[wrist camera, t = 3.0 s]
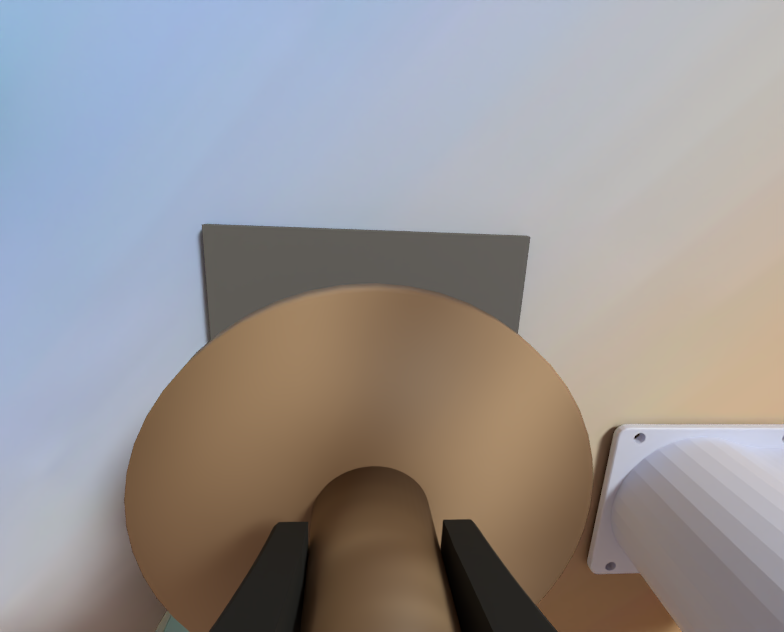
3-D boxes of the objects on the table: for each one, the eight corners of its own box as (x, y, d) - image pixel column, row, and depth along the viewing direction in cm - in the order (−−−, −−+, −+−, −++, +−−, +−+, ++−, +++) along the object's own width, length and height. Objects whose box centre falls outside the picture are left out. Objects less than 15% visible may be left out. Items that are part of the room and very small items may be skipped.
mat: (526, 235, 17) (530, 236, 17) (493, 498, 20) (495, 504, 20) (205, 224, 16) (201, 224, 16) (226, 501, 20) (223, 507, 19)
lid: (611, 287, 10) (857, 386, 5) (545, 638, 14) (661, 904, 9) (109, 278, 9) (-171, 396, 4) (166, 667, 12) (46, 993, 7)
